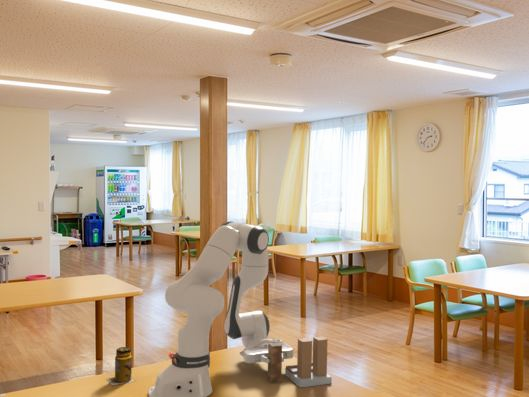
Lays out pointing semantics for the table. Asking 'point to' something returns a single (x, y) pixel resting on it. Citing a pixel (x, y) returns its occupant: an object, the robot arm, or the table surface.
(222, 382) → the table surface
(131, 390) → the table surface
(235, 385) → the table surface
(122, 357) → the condiment
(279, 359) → the stool leg
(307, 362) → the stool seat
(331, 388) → the table surface
